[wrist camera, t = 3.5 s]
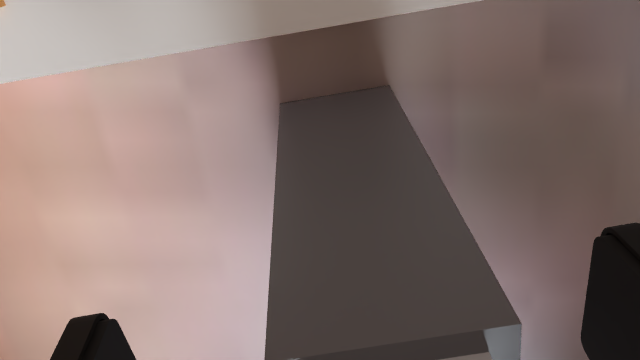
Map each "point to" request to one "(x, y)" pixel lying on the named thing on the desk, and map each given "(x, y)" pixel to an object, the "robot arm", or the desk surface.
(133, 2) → the socket block
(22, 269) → the desk surface
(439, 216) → the grey long rectangular block
